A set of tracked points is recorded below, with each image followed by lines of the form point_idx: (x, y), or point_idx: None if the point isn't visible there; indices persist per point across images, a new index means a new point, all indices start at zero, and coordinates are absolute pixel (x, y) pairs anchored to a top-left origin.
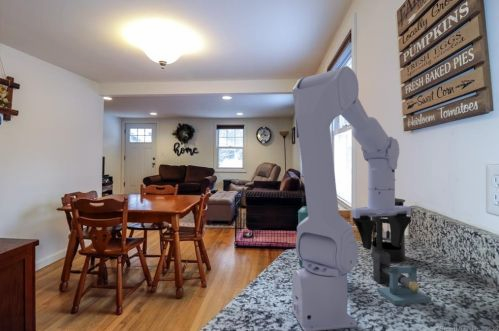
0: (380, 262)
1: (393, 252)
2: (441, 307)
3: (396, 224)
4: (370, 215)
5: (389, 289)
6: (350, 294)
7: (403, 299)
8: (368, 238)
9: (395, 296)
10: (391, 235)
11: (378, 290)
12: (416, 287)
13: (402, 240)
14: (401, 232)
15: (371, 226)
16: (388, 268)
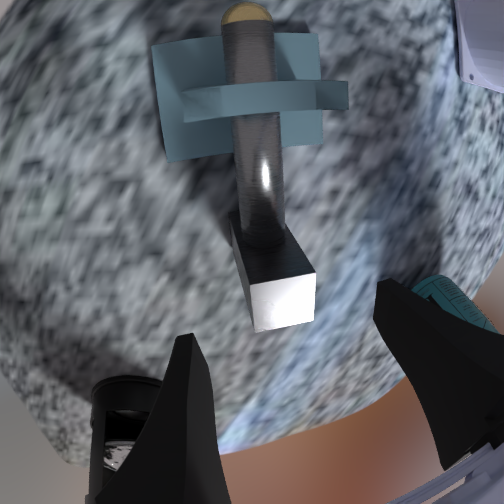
0: (295, 250)
1: (133, 402)
2: (144, 9)
3: (207, 477)
4: (474, 463)
5: (282, 126)
6: (405, 134)
7: (276, 38)
8: (439, 309)
9: (294, 64)
10: (212, 414)
11: (320, 134)
12: (245, 2)
13: (99, 438)
14: (175, 412)
15: (493, 359)
16: (276, 200)
